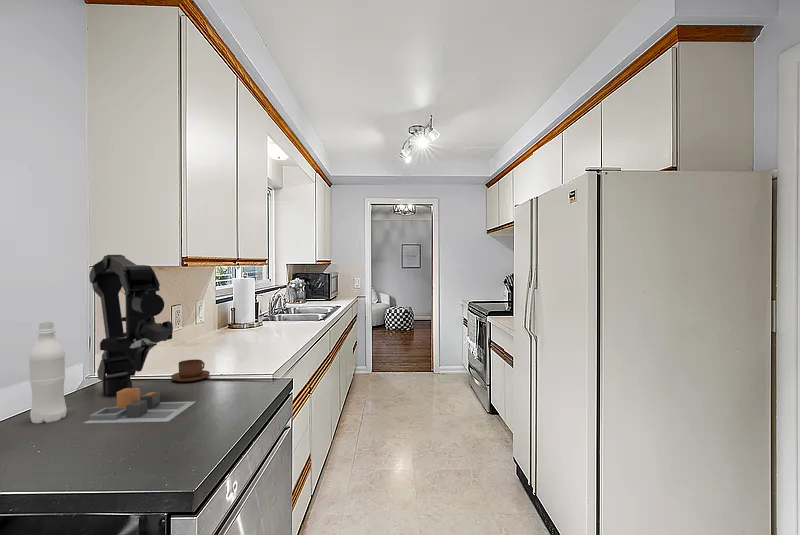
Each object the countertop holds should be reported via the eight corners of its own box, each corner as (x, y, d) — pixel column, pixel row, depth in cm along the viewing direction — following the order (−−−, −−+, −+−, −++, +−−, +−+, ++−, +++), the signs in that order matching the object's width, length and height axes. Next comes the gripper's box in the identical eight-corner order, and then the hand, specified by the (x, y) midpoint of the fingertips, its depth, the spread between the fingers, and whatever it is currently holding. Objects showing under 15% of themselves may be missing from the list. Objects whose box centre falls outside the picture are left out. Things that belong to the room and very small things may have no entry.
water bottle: (73, 421, 119) (71, 321, 119) (44, 431, 112) (41, 325, 112) (53, 418, 122) (50, 320, 121) (23, 428, 115) (20, 324, 114)
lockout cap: (116, 407, 125) (116, 392, 125) (125, 402, 129) (125, 388, 129) (132, 407, 125) (131, 392, 125) (140, 402, 129) (140, 388, 129)
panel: (83, 429, 113) (83, 410, 113) (121, 408, 129) (121, 391, 129) (168, 427, 113) (167, 408, 113) (196, 407, 129) (195, 390, 129)
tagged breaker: (140, 408, 123) (140, 395, 123) (148, 403, 127) (148, 391, 127) (152, 408, 123) (152, 395, 123) (160, 403, 127) (159, 391, 127)
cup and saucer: (182, 375, 167) (181, 358, 167) (215, 375, 167) (215, 357, 167) (164, 384, 155) (163, 365, 155) (200, 384, 155) (199, 365, 155)
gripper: (134, 318, 115) (134, 382, 116) (188, 309, 133) (188, 365, 134) (97, 316, 118) (98, 379, 119) (155, 308, 136) (156, 362, 137)
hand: (138, 371), depth 127 cm, fingers closed
